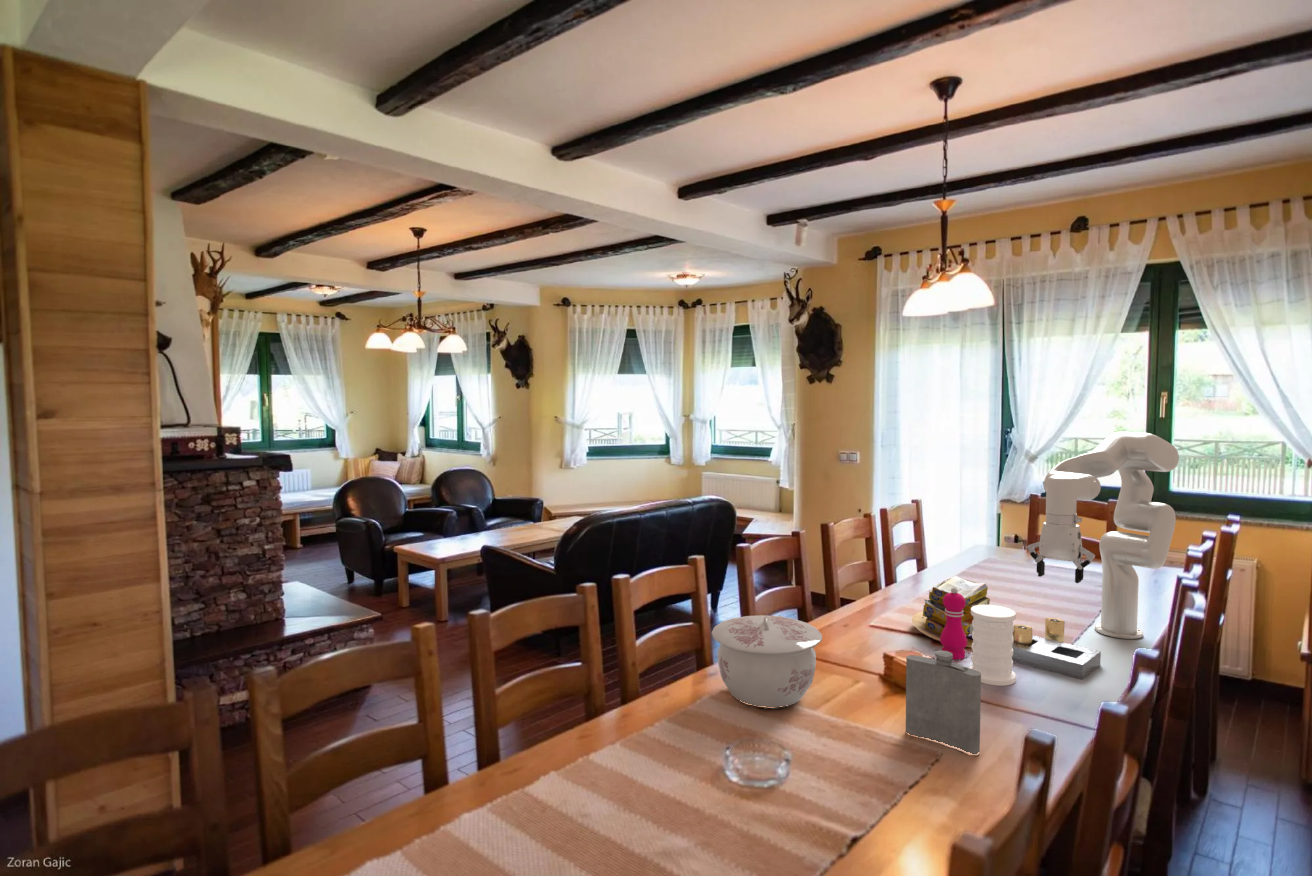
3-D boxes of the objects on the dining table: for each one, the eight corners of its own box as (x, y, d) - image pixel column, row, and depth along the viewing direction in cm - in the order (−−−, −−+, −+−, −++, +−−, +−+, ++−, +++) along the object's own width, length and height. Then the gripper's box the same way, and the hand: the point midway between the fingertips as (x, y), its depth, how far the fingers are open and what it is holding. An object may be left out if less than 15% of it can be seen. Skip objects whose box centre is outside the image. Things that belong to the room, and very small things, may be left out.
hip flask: (903, 733, 162) (904, 647, 161) (910, 727, 165) (911, 642, 164) (976, 758, 151) (978, 665, 150) (983, 750, 154) (984, 659, 153)
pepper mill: (969, 661, 203) (970, 591, 202) (942, 659, 205) (943, 590, 203) (964, 652, 210) (965, 584, 209) (937, 650, 212) (938, 583, 210)
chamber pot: (753, 732, 164) (752, 643, 162) (692, 688, 188) (691, 610, 186) (847, 706, 176) (847, 623, 175) (778, 667, 201) (778, 595, 199)
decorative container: (969, 682, 189) (970, 615, 188) (966, 666, 200) (967, 602, 199) (1018, 688, 185) (1020, 619, 184) (1013, 671, 196) (1014, 606, 195)
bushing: (1048, 642, 217) (1049, 616, 216) (1066, 647, 213) (1067, 620, 213) (1041, 646, 214) (1042, 620, 213) (1060, 651, 210) (1060, 624, 209)
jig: (1010, 643, 217) (1011, 617, 216) (1100, 665, 199) (1101, 637, 198) (990, 655, 208) (990, 627, 207) (1082, 679, 190) (1083, 650, 189)
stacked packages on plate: (1015, 639, 220) (1016, 586, 219) (955, 653, 210) (956, 596, 209) (952, 616, 242) (952, 567, 241) (895, 627, 232) (895, 576, 231)
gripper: (1099, 521, 200) (1097, 582, 201) (1033, 514, 213) (1032, 571, 214) (1090, 525, 195) (1089, 587, 196) (1023, 517, 208) (1022, 576, 209)
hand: (1059, 578), depth 205 cm, fingers open, 9 cm apart
